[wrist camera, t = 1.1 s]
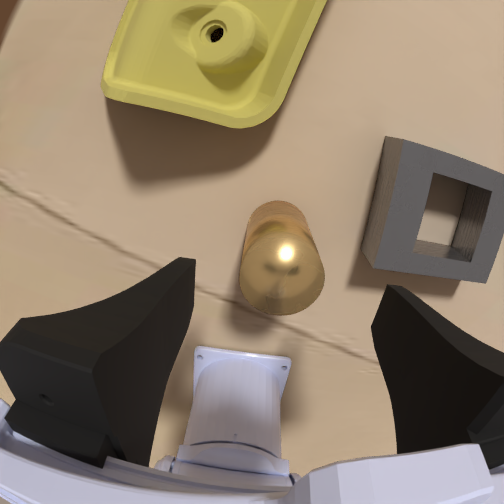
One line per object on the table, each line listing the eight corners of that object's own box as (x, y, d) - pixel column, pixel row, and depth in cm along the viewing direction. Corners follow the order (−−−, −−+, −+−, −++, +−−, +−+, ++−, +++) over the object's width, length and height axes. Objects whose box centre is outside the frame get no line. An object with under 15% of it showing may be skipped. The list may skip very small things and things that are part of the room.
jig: (467, 266, 22) (485, 283, 19) (360, 249, 22) (372, 268, 19) (494, 171, 19) (517, 180, 16) (385, 136, 18) (403, 139, 16)
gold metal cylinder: (301, 261, 22) (314, 319, 16) (243, 253, 22) (234, 310, 16) (312, 205, 21) (333, 246, 14) (251, 196, 21) (244, 233, 14)
